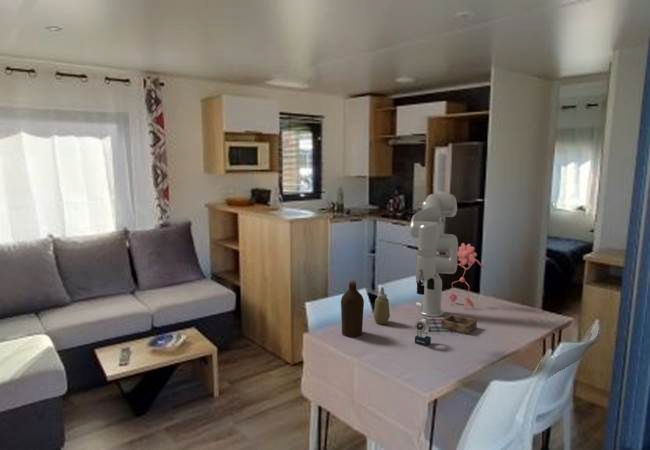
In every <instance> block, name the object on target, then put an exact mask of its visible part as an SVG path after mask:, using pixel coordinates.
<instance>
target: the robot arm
mask: <svg viewBox="0 0 650 450" xmlns="http://www.w3.org/2000/svg"><path fill="white" fill-rule="evenodd" d="M457 204H458V203H457V198H456V196H455V195H454V194H451V193H431V194H429V195H428V196H427V197H425V200H424V201H422V203H421V210H419V211H417V212H415V213H414V214H413V216H412V217H411V219H410V225H409V235H410V236H411V237H412V238H414V239H417V240H418V241H417V243H418V246H417V261H416V269H415V280H416V281H415V282H416V294H417V295H421V296H422V302H419V301H417V302H416V305H415V307H417V308H419V314H420V315H422V316H426V317H433V318H435V317H437V318H438V317H442V316H444V314H445V311H444V310H443V309H442V294H443V291H442V289H443V281H442V278H441V277H440V275H439V274H448V275H449V274H450V275H454V274H455V273H456V272H457V268H458V265H457V264H458V256H457V255H458V252H459V242H458V237H457V236H456V235H455V234H452V233H451V234H450V233H444V229H445V228H444V222H443V221H442V219H441V218H447V217H448V218H453V217H455V216H456V215H457V212H458V205H457ZM446 252H447V253H448V254H449V255H446V254H437V253H446Z"/></svg>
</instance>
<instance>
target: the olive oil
mask: <svg viewBox="0 0 650 450" xmlns="http://www.w3.org/2000/svg"><path fill="white" fill-rule="evenodd" d="M348 283H349V284H348V289H347V290H346V292H344V294H342V296H341V299H340V310H341V312H340V314H341V335H342V336H344V335H345V337H347V336H348V338H357V337H360V336H362V334H363V325H364V324H363V323H364V320H363V319H364V305H365V299H364V296H363V295H362V294H361V293H360V292H359V290H357V281H356V280H349V281H348Z"/></svg>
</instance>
